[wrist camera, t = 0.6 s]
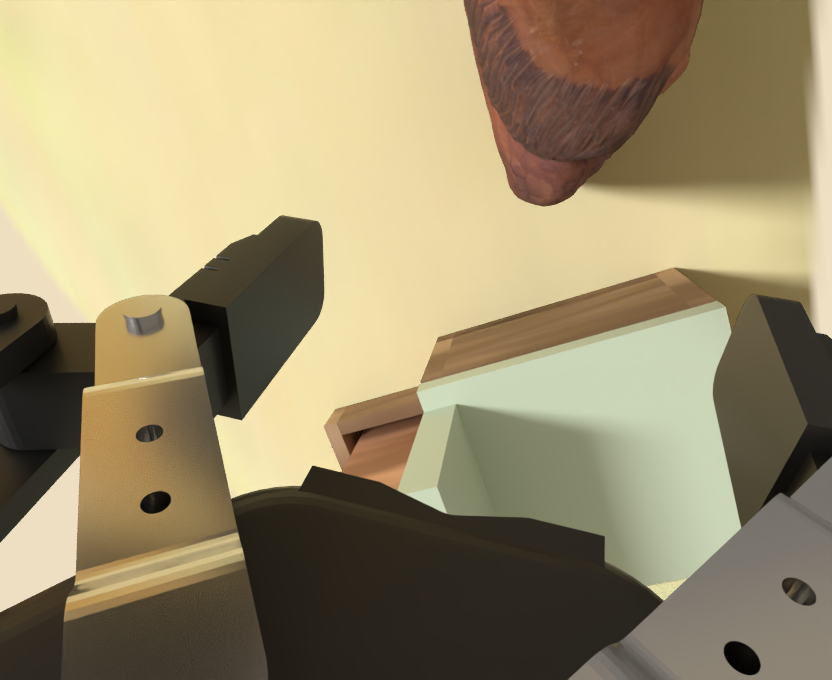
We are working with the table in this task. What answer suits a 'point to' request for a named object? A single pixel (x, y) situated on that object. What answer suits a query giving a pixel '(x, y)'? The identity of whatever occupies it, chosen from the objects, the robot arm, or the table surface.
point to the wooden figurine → (573, 81)
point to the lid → (591, 442)
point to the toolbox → (522, 343)
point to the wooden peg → (384, 451)
